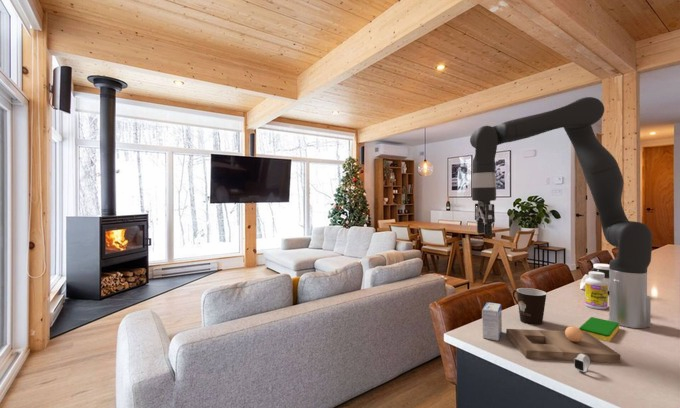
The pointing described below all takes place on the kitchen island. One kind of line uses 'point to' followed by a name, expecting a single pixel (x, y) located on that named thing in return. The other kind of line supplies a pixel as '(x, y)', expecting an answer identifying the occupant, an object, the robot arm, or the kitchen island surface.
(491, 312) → the medicine box
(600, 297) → the supplement bottle
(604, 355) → the walnut board
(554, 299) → the kitchen island surface
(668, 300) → the kitchen island surface
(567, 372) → the kitchen island surface
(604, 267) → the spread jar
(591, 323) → the dish sponge
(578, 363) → the smartwatch
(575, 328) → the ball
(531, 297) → the coffee mug
